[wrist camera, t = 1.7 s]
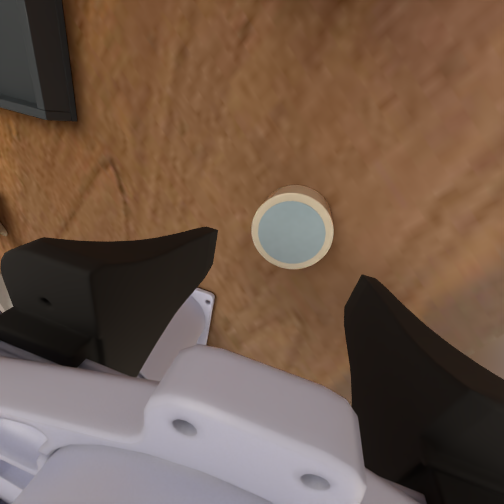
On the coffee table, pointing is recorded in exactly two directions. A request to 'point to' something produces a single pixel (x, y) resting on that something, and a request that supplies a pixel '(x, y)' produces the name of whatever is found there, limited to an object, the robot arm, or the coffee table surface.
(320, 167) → the coffee table surface
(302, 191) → the dish
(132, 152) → the coffee table surface
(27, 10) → the tray
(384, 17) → the coffee table surface
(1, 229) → the bone
